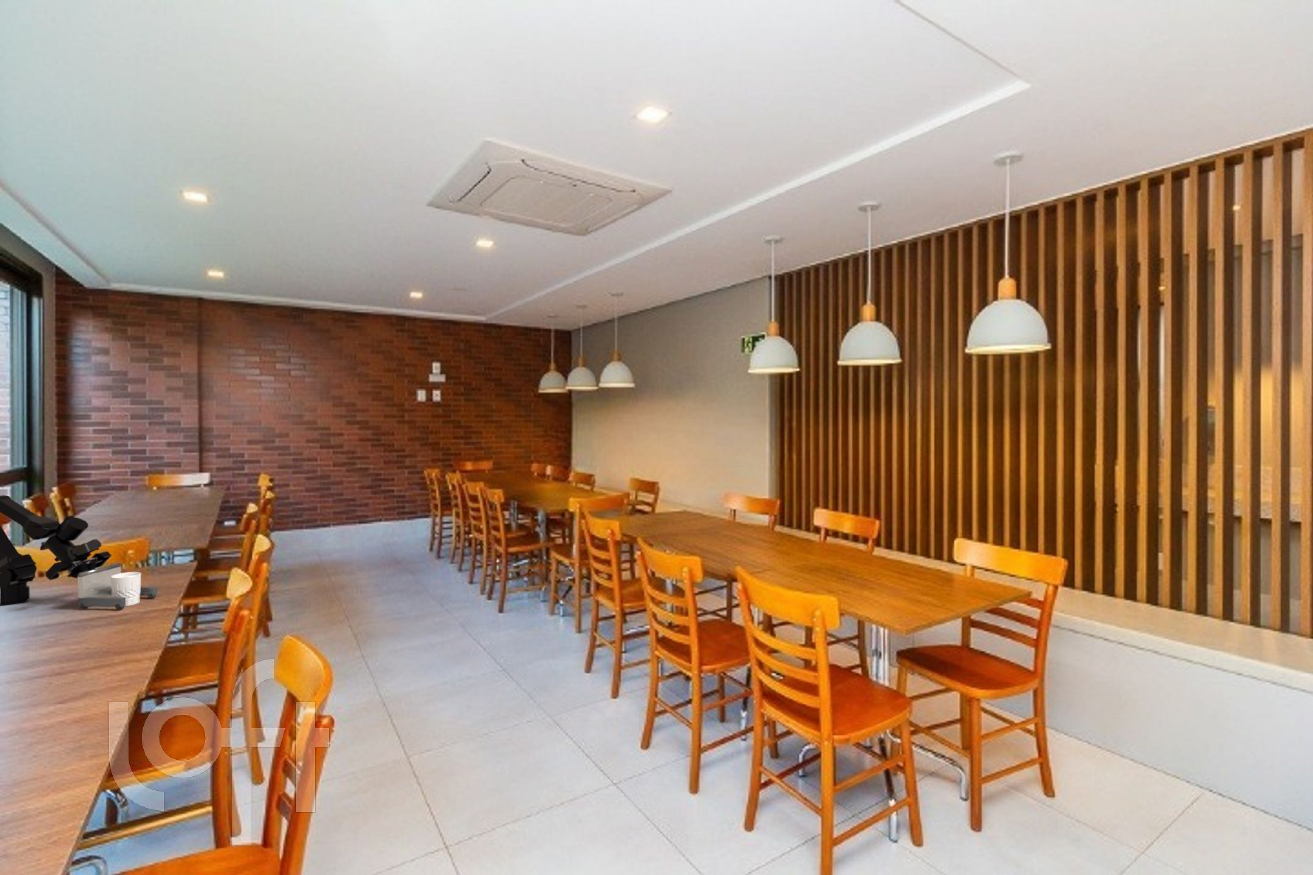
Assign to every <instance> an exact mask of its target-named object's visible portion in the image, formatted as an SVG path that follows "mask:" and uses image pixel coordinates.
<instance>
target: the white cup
mask: <svg viewBox="0 0 1313 875" xmlns="http://www.w3.org/2000/svg"><path fill="white" fill-rule="evenodd" d="M141 580H142V572H139V571H129V572H121V573H120V574H116V575H113V576H111V589H112V597H125V600H126V606H125V607H128V606H133V605H137V604H140V601H141V600H140V599H141V598H140V597H141V596H140V589H141V584H142V581H141Z"/></svg>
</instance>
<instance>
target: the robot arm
mask: <svg viewBox="0 0 1313 875" xmlns="http://www.w3.org/2000/svg"><path fill="white" fill-rule="evenodd" d="M0 514H2V515H3V516H5V517H6V518H8V519H10V520H12V521H13V522H15V523H17V524H18V525H20V526H21V527H22V528H23V532H24V533H25V534H26V535H27V536H28V537H29V538H31V539H32V540H35V541H38V540H43V539H46V540H45V541H42V542H40V548H39V550H40V551H45V550H49V551H50V552H51V554H53V555H54V556H55V558H54V559H53V560H54V561H55V562H54V563H53V564H52V565H51V566H50V567H49V568H48V570H46V572H45V577H46V578H47V579H48V580H49V581H51V580H56V579H58V578H59V577H60V573H64V572H67V571H68V573H69V574H67V576H66V577H67V578H74V579H77V580H78V578H77V577H78V573H81V572H85V571H89V570H93V569H97V568H100V567H103V566H104V565H105V563H106V562H107V561H108V560H110V558H111V557H112V554H111V553H110V552H109V551H106V550H105V551H104V550H103V551H101V552H96V553H94V554H93V555H92V553H93V552H95V551H98V550H100V548H101V547H102V543H101V540H100V541H99V539H97V538H94V539H91V540H89V541H88V542H83V543H82V544H77V545H75V543H73V542H74V541H75V540H77V539H78V538H79V537H80V536H81V535H82V534H84V532H85V531H86V530H87V529H88V528H89V523H88V522H87V521H86V520H84V519H82V518H79V517H76V516H74V515H72V514H71V515H67V516H66V517H65V518H64V519H63V520H62V522H60V523H59V522H58V521H57V520H55V519H52V518H50V517H45V516H41V515H38V514H35V513H34V512H32V511H31V510H29V509H28V508H26V507H24V506H23V505H21V504H19V503H18V502H17V501H15V500H13V499H12V497H10V496H9V495H6V494H1V495H0ZM72 541H73V542H72ZM90 556H91V558H89V557H90ZM36 564H37V562H36V561H34V559H33V558H32V556H31V554H29V553H27V554H22V553H20V552H19V551H18V550H17V548H16V547H15V546H14V544H13V543H12V541H11V540H10V538H9V537H8V535H7V534H6V532H5V531H4V529H3V528H2V526H1V525H0V606H6V605H12V604H13V605H15V604H22V603H27V602H28V600H30V598H31V587H30V585H28V583H29V582H33V581H34V579H35V575H36V572H37V569H38V568H37V565H36Z"/></svg>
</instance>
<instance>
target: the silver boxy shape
mask: <svg viewBox="0 0 1313 875" xmlns="http://www.w3.org/2000/svg"><path fill="white" fill-rule="evenodd" d="M120 573H122V567H121V563H120V562H117V563H112V564H109V565H103V566H101V567H98V568H95V569H93V570H89V571H85V572H81V573H78V577H77V578H78V579H77V578H76V579H77V603H78V604H77V606H78V607H79V609H81V610H87V609H88V608H89V607H90V608H91V607H93V608H94V607H96V608H97V607H99V608H100V607H101V608H102V607H103V608H105V607H107V608H115V609H116V610H119V611H120V610H123V609H124V608H125V607H127V606H126V600H125V597H112V589H111V576H113V575H116V574H120ZM157 595H158V586H145V585H144V586H141V589H140V597H144V596H145V597H146V596H147V597H148V598H149V599H154V598H156V597H157Z"/></svg>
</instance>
